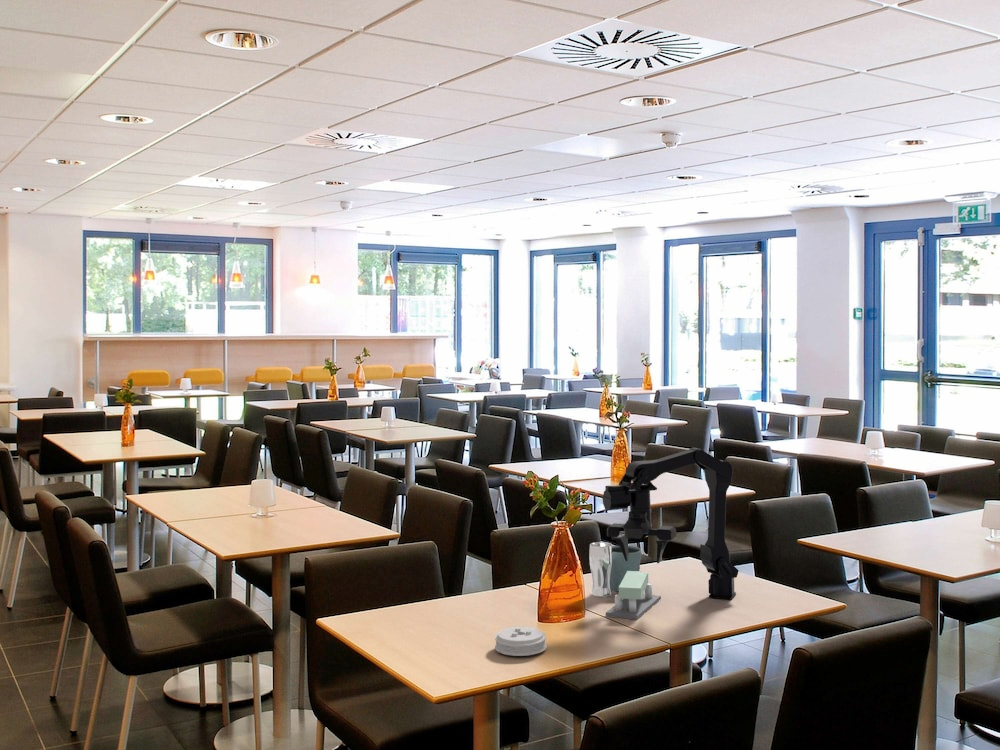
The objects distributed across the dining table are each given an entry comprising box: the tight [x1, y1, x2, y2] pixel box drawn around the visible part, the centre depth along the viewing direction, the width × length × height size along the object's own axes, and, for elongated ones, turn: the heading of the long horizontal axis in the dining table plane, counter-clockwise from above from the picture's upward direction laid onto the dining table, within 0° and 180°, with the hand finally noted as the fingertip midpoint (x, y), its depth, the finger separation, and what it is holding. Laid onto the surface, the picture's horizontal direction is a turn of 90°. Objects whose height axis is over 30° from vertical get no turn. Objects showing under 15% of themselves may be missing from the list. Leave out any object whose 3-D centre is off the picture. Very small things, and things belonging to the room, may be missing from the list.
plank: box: [618, 571, 649, 599], centre depth 259 cm, size 6×18×3 cm, turn 165°
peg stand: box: [605, 582, 662, 621], centre depth 259 cm, size 9×21×5 cm, turn 153°
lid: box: [494, 626, 548, 657], centre depth 227 cm, size 13×13×5 cm
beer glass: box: [588, 541, 613, 598], centre depth 273 cm, size 7×7×15 cm
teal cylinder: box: [611, 545, 642, 592], centre depth 279 cm, size 10×10×12 cm
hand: (642, 561), depth 260 cm, fingers open, 9 cm apart
